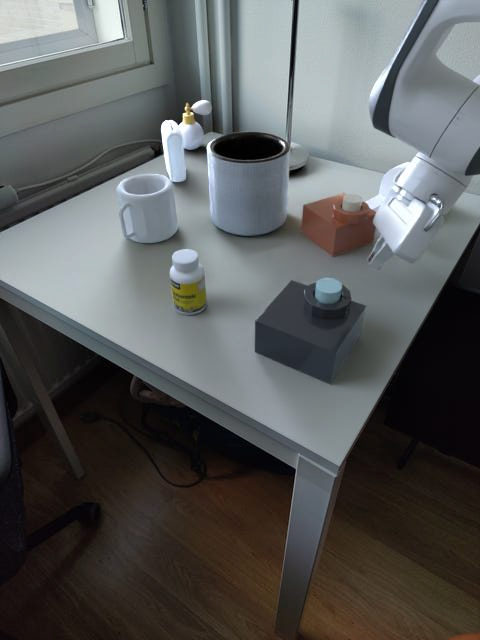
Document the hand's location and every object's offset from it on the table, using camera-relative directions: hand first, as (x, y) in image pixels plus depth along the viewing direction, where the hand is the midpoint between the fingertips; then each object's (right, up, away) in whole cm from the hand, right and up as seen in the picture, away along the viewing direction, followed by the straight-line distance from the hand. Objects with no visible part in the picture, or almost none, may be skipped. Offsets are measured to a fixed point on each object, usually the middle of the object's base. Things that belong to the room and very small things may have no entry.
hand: (371, 265), depth 75 cm
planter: (-19, +12, +23) cm, 32 cm away
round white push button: (-1, +12, +10) cm, 15 cm away
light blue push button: (-9, -6, -10) cm, 14 cm away
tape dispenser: (+12, +13, +23) cm, 29 cm away
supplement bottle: (-29, -7, +2) cm, 30 cm away
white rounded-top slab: (-37, +27, +40) cm, 61 cm away
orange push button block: (-2, +7, +16) cm, 18 cm away
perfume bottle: (-34, +39, +53) cm, 74 cm away
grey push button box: (-11, -13, -6) cm, 18 cm away
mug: (-40, +8, +19) cm, 45 cm away
